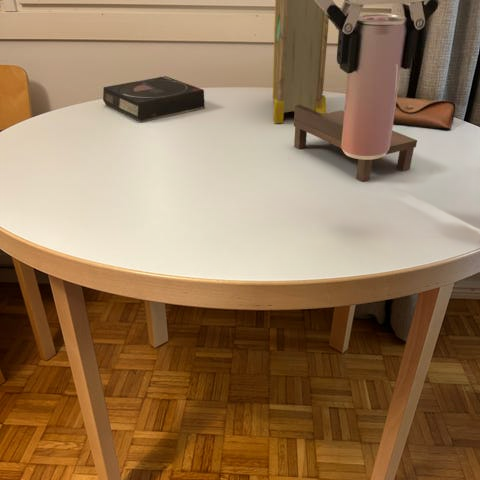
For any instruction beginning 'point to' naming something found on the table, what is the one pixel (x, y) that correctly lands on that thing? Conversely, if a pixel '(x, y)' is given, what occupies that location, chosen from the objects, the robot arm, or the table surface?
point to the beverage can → (373, 86)
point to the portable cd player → (154, 98)
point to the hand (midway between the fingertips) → (374, 67)
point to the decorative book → (299, 56)
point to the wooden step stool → (331, 131)
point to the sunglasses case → (424, 113)
